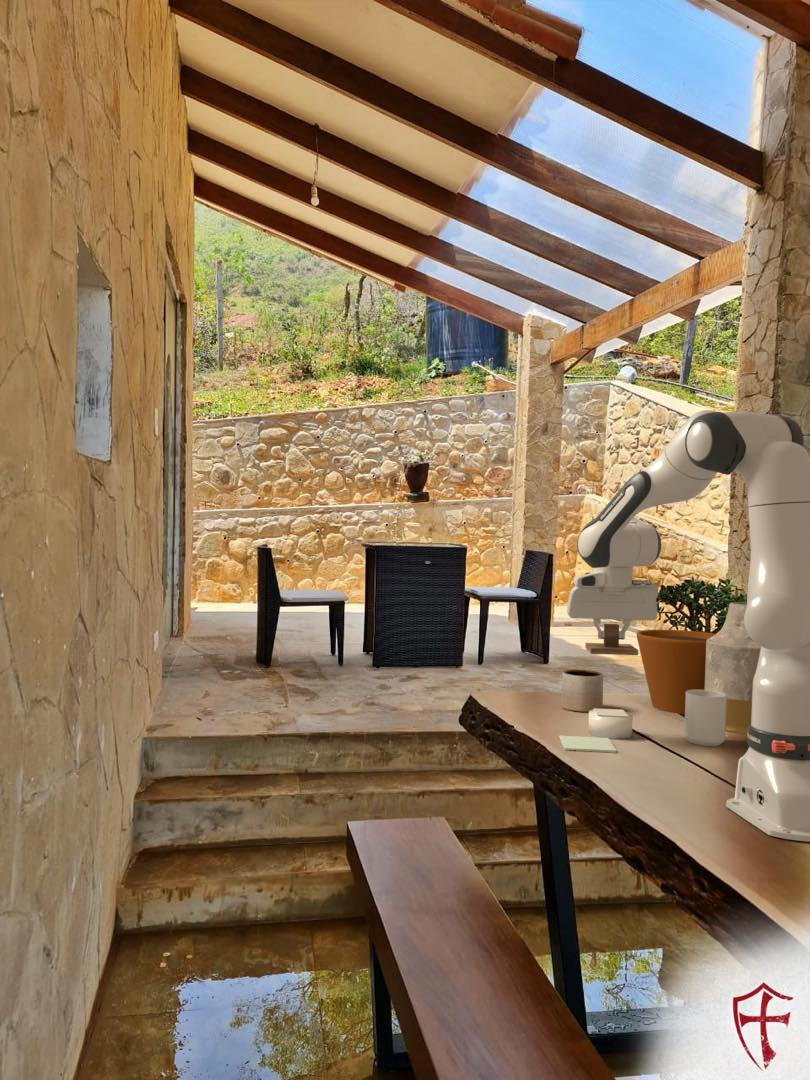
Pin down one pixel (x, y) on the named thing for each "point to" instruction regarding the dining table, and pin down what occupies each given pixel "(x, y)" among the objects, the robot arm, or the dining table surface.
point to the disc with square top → (610, 723)
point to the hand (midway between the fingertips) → (611, 638)
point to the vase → (733, 667)
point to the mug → (705, 717)
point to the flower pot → (673, 665)
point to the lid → (611, 643)
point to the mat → (587, 744)
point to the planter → (582, 690)
